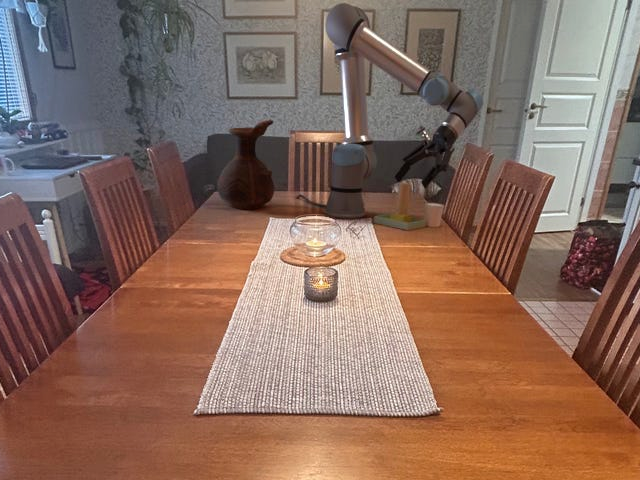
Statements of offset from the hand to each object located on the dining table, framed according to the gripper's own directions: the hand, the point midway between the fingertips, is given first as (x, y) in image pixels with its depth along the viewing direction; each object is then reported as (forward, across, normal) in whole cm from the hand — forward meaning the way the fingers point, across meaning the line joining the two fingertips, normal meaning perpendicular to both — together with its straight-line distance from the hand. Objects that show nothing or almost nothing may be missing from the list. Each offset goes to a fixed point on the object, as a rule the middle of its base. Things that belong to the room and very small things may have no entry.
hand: (409, 182), depth 205 cm
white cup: (+4, -5, -16) cm, 17 cm away
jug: (+36, +51, +16) cm, 64 cm away
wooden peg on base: (+10, +1, -8) cm, 13 cm away
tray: (+12, 0, -8) cm, 14 cm away
